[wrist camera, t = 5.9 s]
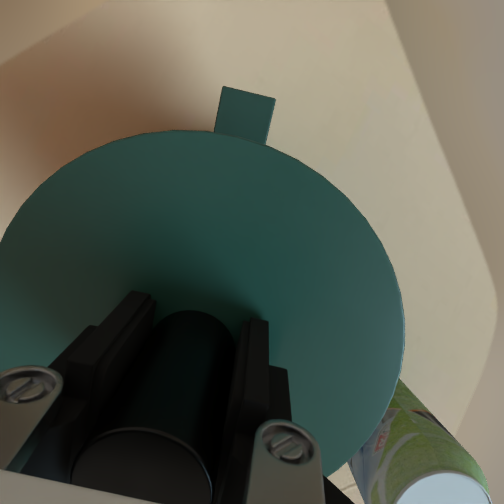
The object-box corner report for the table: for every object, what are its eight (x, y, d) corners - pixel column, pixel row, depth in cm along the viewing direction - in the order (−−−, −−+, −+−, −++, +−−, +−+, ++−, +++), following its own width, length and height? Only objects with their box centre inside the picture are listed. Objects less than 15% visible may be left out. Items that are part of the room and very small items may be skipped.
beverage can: (317, 423, 30) (352, 593, 19) (337, 338, 29) (390, 469, 17) (396, 435, 31) (479, 610, 19) (421, 351, 29) (531, 490, 17)
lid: (452, 188, 11) (654, 234, 5) (331, 518, 15) (374, 768, 9) (21, 84, 11) (-262, 14, 5) (-2, 446, 14) (-189, 655, 8)
